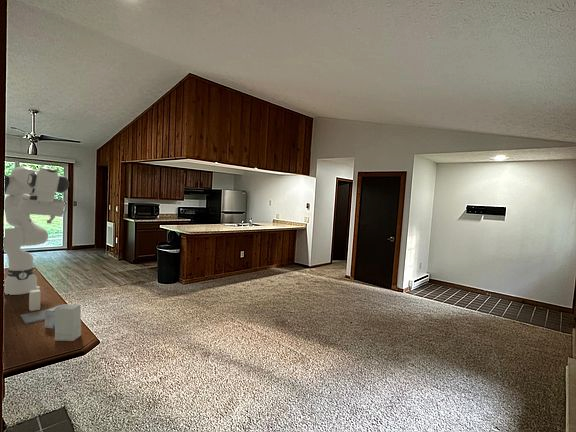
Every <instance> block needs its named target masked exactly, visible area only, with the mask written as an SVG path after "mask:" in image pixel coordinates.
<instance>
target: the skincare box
mask: <svg viewBox="0 0 576 432" xmlns="http://www.w3.org/2000/svg"><path fill="white" fill-rule="evenodd" d="M59 305H60V306H59ZM59 305H58V306H59V307H57V308H55V309H54V317H55V328H54V340H55V342H56V341H59V342H60V341H61V342H63V341H64V342H66V341H67V342H74V341H76V339H78V338H79V337H81V336H82V321H81V320H82V319H81V318H82V316H81V304H67V303H64V304H63V303H62V304H59Z"/></svg>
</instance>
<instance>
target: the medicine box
mask: <svg viewBox="0 0 576 432" xmlns="http://www.w3.org/2000/svg"><path fill="white" fill-rule="evenodd" d="M60 305H61V304H59V305H56V306H52V307H50V308H48V309H45V320H44V328H47V329H55V317H54V309H55V308H57V307H59V306H60Z"/></svg>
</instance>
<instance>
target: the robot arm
mask: <svg viewBox="0 0 576 432" xmlns="http://www.w3.org/2000/svg"><path fill="white" fill-rule="evenodd" d="M4 175H5V194H4V195H7V196H5V198H4V203H5V209H4V215H5V219H6V220H5V221H6V222H7V224H8V225H10V226H12V227H10V228H4V229H5V237H4V250H3V251H4V252H5V254H6V256H7V258H8V269H7V276H6V278H5V279H4V281H5V284H4V285H5V294H4V295H8V294H9V296H12V295H13V296H15V295H17V296H18V295H19V296H20V295H24V294H25V295H26V294H29V291H30V290H37V289H39V290H41V286H39V285H37V284H38V283H37V282H38V281H37V276H36V275H35V274H34V272H35V269H34V266H33V265H34V256H33V255H32V253H30V252H29V251H25V250H22V249H21V247H26V246H27V247H28V246H30V247H31V246H37V245H42V244H45V243H46V242H47V241H48V238H49V233H48V231H47V229H45V228H43V227H41V226H38V225H37V224H36V223H35V222H34V221H33V220H32V218H31V216H30V215H39V216H49V217H50V218H49V219H47V220H46V224H48V225H49V224H52V221H53V220H54V219H56V217H62V216H63V215H64V207H65V201H64V200H63V199H57V198H55V196H56V193H59V194H63V193H65V192H66V191H67V190H69V188H70V181H69V179H68V178H67V177H66V176H65V175H59V173H58V170H56V169H55V168H52V167H47V166H42V167H40V168H39V170H36V169H34V168H31V167H29V166H23V165H22V166H16V167H14V168H13V169H12V170H11V173H10V175H7V174H4Z"/></svg>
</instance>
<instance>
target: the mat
mask: <svg viewBox="0 0 576 432" xmlns="http://www.w3.org/2000/svg"><path fill="white" fill-rule="evenodd" d="M45 310H46V309H45ZM45 310H39V311H38V310H37V311H34V312H30V313H28V312H27V313H23V314H20V316H19V317H20V319H21V320H22V321H23V323H24V325H29V324H33V323H38V322H43V321H44V322H45Z"/></svg>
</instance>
